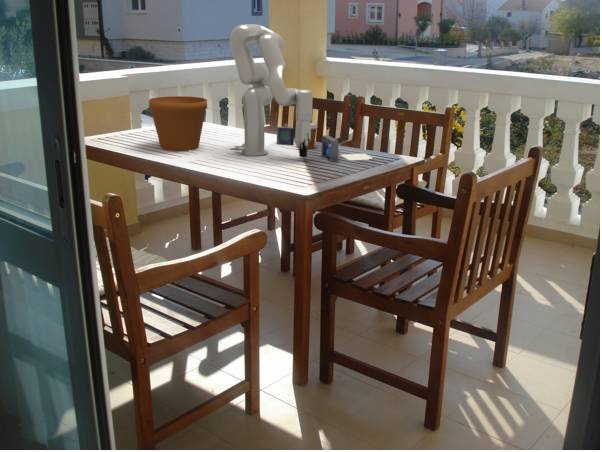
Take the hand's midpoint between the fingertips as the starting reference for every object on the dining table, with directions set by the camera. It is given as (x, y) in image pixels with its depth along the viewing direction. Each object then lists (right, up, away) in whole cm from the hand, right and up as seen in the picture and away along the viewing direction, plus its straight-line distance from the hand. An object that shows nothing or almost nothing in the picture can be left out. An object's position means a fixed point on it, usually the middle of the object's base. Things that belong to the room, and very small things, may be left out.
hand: (303, 156), depth 323 cm
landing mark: (+26, 0, +8) cm, 27 cm away
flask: (-9, +10, +36) cm, 38 cm away
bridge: (+12, -1, +4) cm, 13 cm away
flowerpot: (-61, +6, +22) cm, 66 cm away
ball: (+14, +2, +3) cm, 14 cm away
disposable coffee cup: (+2, +7, +29) cm, 30 cm away
